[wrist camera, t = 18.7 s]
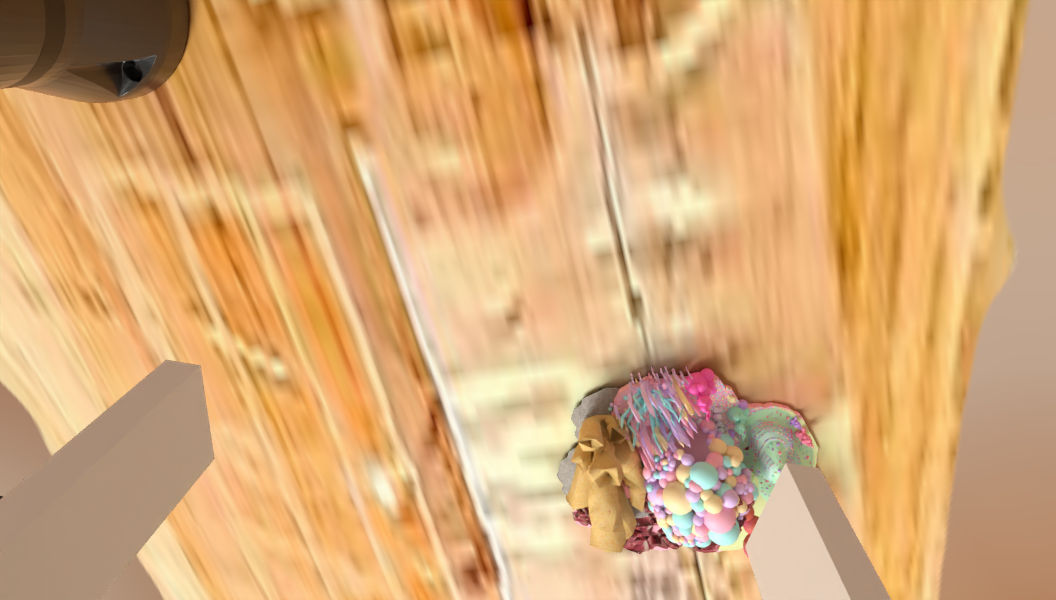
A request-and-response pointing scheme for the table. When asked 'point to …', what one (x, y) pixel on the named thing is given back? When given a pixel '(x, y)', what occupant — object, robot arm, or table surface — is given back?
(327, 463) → the table surface
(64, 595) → the robot arm
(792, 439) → the pastel sphere sculpture
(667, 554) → the table surface
